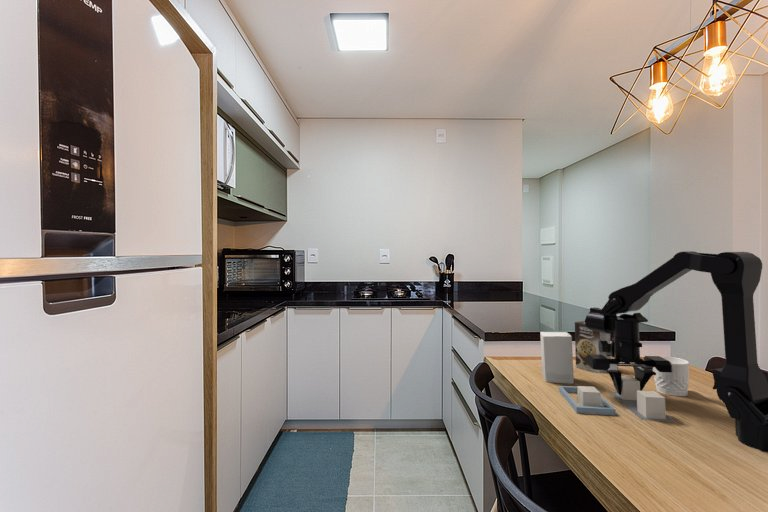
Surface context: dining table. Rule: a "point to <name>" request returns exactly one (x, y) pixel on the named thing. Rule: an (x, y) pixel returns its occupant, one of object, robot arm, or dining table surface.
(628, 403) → the slate board
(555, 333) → the skincare box
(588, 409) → the blue bin
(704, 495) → the dining table surface
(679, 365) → the white cup
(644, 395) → the stone
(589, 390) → the stone
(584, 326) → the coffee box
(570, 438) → the dining table surface
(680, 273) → the robot arm
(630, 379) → the stone
